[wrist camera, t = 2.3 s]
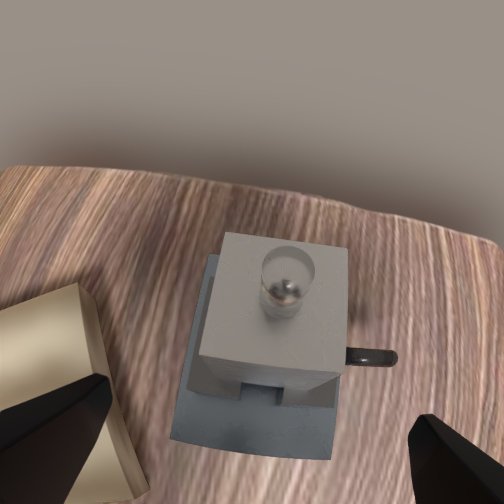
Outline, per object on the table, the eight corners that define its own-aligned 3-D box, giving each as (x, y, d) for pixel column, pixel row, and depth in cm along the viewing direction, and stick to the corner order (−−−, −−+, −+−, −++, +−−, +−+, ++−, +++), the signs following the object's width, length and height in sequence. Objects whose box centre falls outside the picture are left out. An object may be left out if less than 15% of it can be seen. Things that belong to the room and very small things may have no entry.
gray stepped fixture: (366, 456, 15) (432, 468, 9) (177, 436, 16) (133, 446, 9) (374, 289, 22) (424, 226, 15) (212, 267, 22) (197, 193, 15)
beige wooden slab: (149, 489, 14) (134, 499, 12) (-10, 494, 11) (-33, 496, 8) (95, 299, 21) (77, 282, 18) (-37, 344, 17) (-58, 333, 15)
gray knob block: (309, 390, 13) (368, 359, 7) (216, 378, 14) (186, 337, 7) (316, 305, 16) (364, 214, 9) (231, 293, 16) (221, 194, 9)
